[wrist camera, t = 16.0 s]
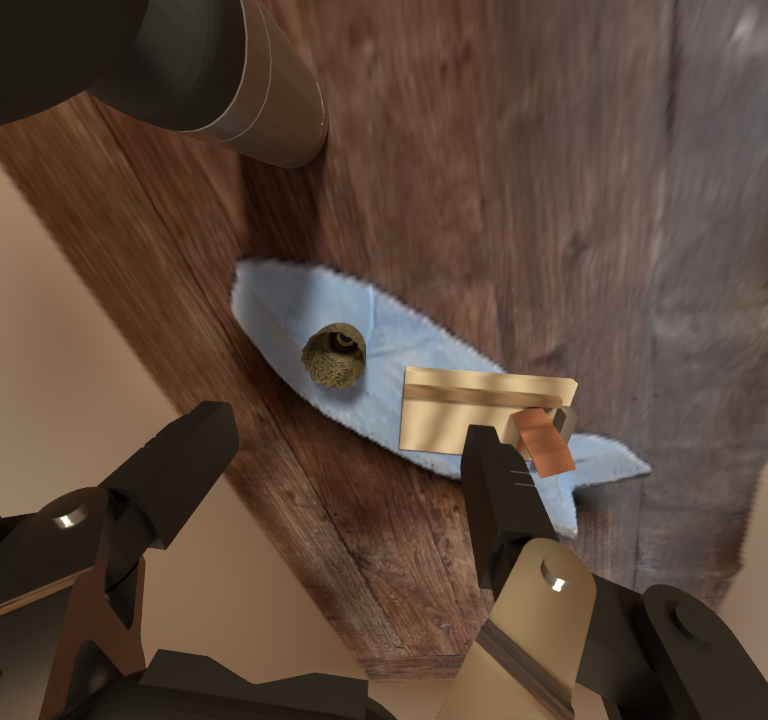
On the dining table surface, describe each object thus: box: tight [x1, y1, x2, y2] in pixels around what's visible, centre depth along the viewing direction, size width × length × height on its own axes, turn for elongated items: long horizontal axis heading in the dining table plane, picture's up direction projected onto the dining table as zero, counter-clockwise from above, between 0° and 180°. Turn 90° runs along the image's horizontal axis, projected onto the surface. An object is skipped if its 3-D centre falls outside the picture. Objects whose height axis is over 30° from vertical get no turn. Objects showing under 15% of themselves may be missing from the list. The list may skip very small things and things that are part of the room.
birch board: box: [399, 367, 578, 461], centre depth 43 cm, size 23×14×4 cm, turn 88°
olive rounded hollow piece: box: [301, 323, 366, 390], centre depth 38 cm, size 8×7×8 cm
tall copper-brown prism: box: [511, 407, 576, 478], centre depth 39 cm, size 5×4×8 cm
